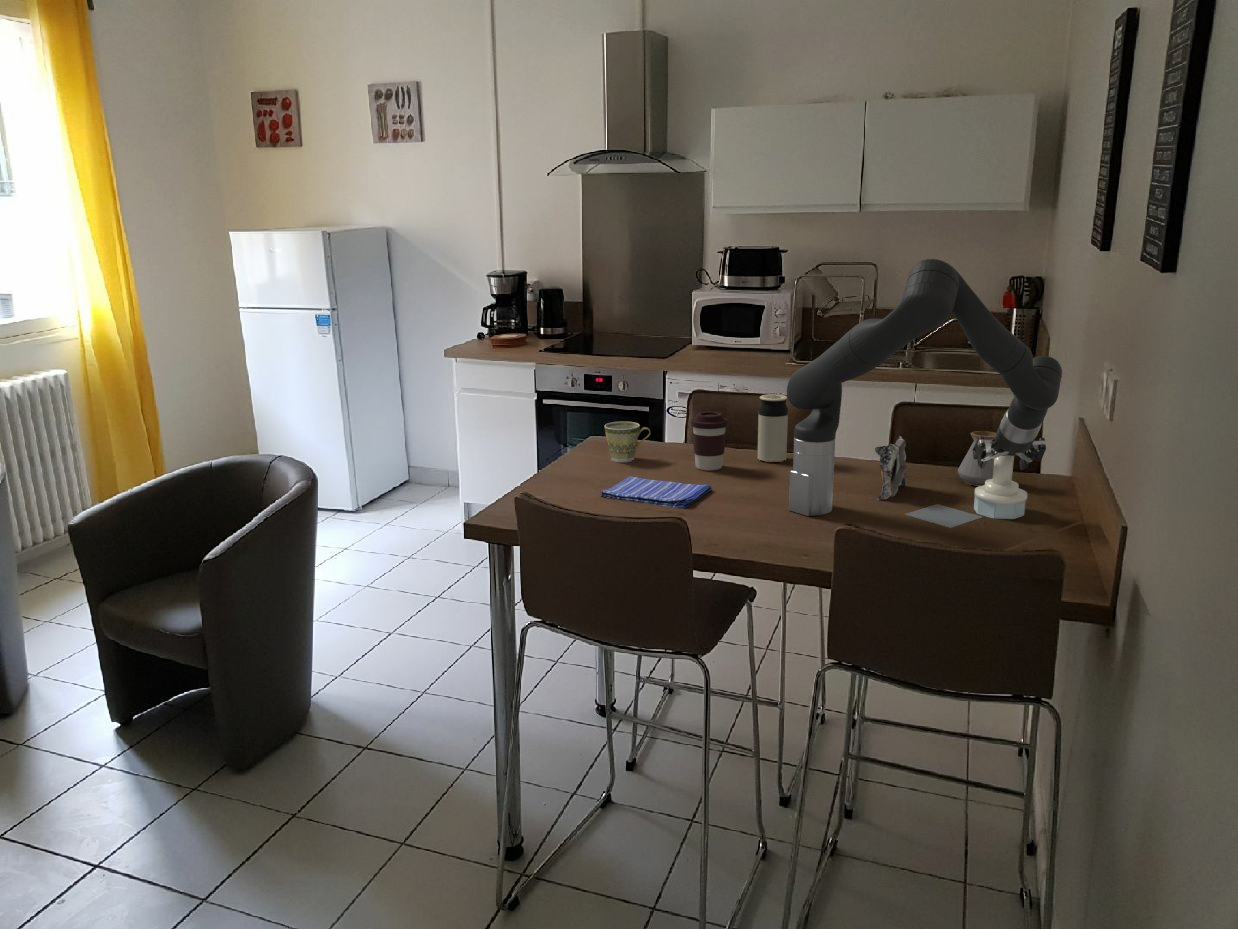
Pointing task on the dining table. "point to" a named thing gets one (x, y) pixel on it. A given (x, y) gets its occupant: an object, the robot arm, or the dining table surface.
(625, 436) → the ceramic cup
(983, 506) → the bowl
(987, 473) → the coffee pot
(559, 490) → the dining table surface
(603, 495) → the dish towel
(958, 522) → the mat
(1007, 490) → the lid
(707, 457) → the coffee cup
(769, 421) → the travel mug
